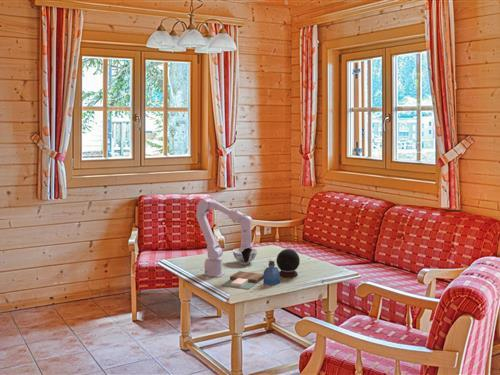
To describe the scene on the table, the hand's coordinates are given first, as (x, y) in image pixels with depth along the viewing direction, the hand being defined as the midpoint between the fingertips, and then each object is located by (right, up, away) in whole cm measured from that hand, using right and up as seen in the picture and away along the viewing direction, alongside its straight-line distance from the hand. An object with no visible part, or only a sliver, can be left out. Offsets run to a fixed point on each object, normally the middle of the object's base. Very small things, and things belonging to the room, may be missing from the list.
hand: (246, 261), depth 310 cm
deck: (+1, -9, -2) cm, 10 cm away
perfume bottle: (+14, -11, -10) cm, 20 cm away
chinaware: (-1, -5, +31) cm, 32 cm away
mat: (-4, -11, -13) cm, 17 cm away
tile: (-3, -10, -12) cm, 16 cm away
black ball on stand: (+24, -9, +5) cm, 26 cm away
